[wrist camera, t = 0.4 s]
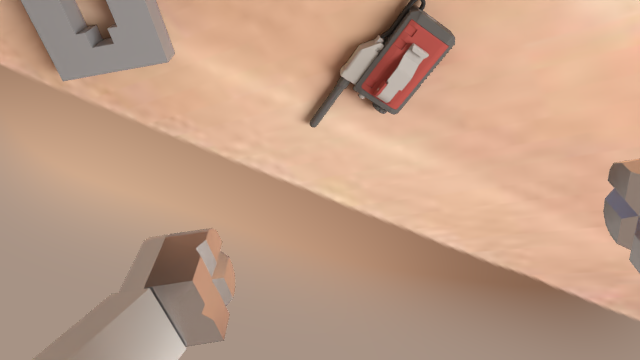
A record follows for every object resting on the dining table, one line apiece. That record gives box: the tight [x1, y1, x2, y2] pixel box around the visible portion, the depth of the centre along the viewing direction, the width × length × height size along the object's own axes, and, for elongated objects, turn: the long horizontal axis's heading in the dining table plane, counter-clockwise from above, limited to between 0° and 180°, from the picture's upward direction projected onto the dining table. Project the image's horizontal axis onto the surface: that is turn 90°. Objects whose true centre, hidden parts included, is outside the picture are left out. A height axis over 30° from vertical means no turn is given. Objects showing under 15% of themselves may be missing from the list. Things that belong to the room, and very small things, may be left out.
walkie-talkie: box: [310, 0, 455, 127], centre depth 55 cm, size 9×4×20 cm
